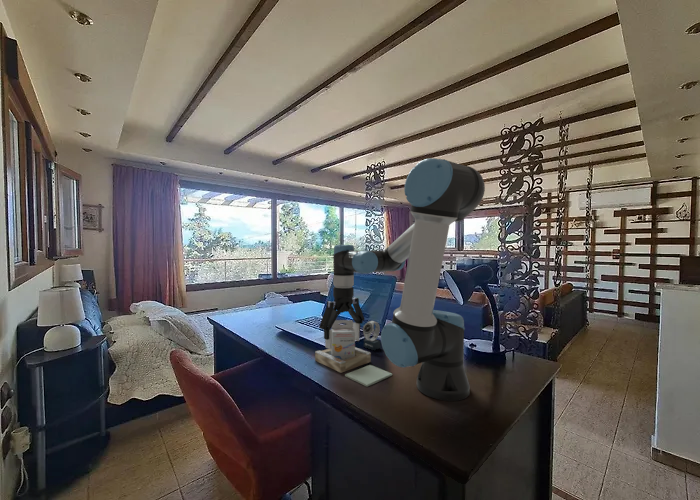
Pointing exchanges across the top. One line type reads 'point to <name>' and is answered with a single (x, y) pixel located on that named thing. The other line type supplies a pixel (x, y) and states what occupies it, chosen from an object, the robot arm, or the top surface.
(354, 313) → the robot arm
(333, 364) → the dispenser collar
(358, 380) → the mat
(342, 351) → the ink box
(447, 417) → the top surface
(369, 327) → the watch
